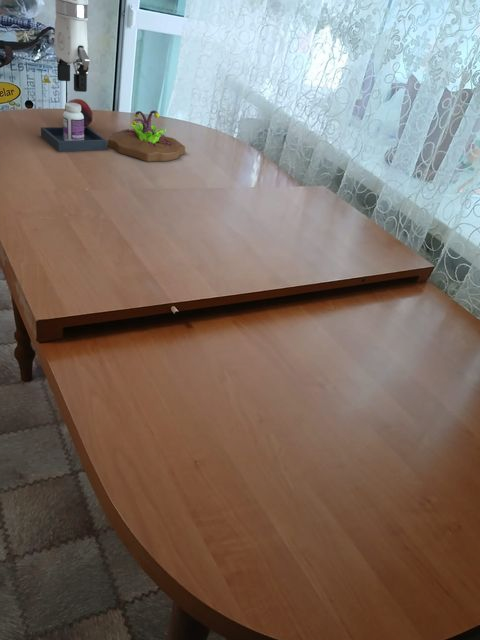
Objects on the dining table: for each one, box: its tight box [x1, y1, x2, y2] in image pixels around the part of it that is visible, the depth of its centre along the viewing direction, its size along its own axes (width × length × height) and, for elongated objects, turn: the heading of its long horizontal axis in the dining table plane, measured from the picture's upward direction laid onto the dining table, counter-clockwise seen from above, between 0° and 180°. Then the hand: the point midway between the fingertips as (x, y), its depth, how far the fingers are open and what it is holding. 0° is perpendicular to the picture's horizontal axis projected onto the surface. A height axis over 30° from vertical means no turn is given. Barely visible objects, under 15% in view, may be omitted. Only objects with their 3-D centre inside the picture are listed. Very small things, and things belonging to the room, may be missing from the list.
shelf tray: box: [40, 126, 108, 153], centre depth 150 cm, size 14×12×3 cm
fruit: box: [64, 98, 93, 127], centre depth 159 cm, size 8×8×8 cm
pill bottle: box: [62, 102, 84, 141], centre depth 148 cm, size 5×5×10 cm
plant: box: [107, 110, 186, 162], centre depth 155 cm, size 20×20×11 cm
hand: (71, 85), depth 142 cm, fingers open, 9 cm apart
